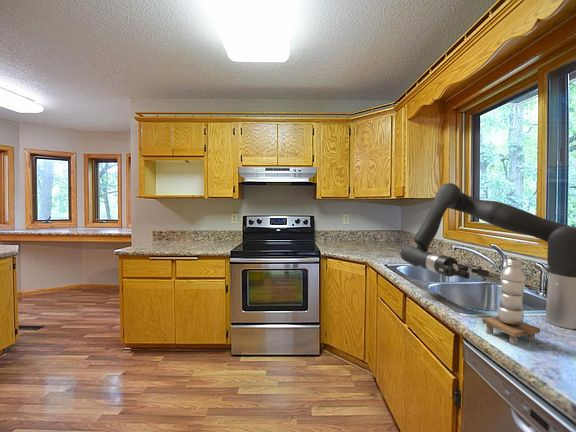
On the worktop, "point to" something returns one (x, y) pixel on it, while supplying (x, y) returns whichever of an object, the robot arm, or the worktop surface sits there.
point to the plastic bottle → (512, 293)
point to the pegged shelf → (511, 329)
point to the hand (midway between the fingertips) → (478, 274)
